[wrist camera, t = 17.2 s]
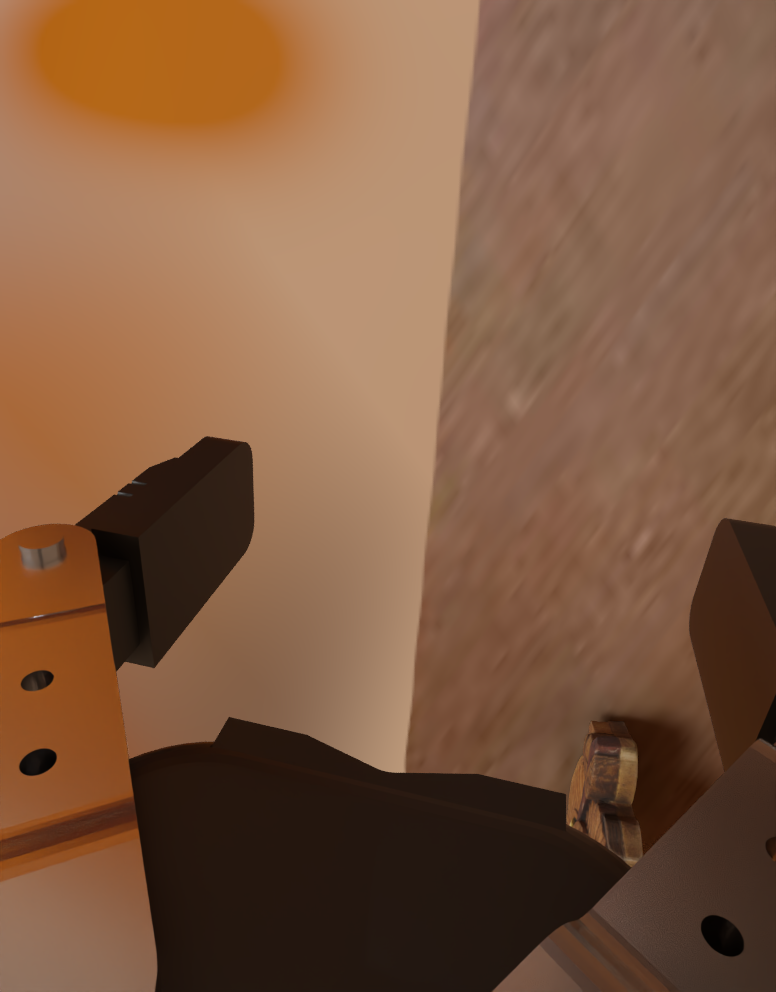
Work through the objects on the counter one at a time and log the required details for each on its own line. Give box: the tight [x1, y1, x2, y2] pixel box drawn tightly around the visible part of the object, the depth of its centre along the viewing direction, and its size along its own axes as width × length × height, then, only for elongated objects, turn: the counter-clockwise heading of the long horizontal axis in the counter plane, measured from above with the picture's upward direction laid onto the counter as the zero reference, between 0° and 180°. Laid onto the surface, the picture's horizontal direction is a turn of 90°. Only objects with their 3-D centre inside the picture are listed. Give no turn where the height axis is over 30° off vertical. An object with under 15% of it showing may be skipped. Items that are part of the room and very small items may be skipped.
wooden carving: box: [567, 721, 643, 868], centre depth 46 cm, size 16×5×10 cm, turn 5°
